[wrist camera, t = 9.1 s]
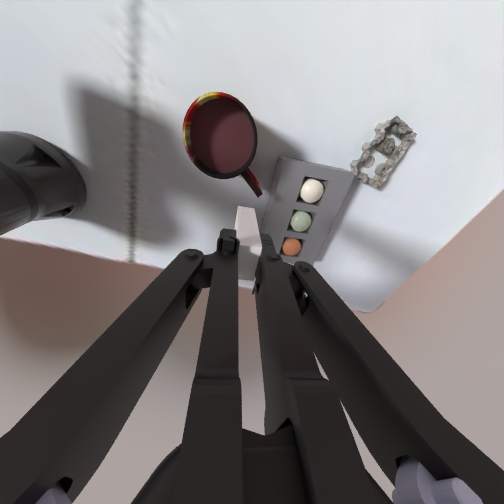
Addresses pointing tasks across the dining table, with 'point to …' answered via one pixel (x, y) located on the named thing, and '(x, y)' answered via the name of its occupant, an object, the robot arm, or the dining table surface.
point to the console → (303, 205)
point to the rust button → (291, 246)
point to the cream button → (311, 190)
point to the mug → (221, 137)
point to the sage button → (300, 220)
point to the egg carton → (384, 146)
